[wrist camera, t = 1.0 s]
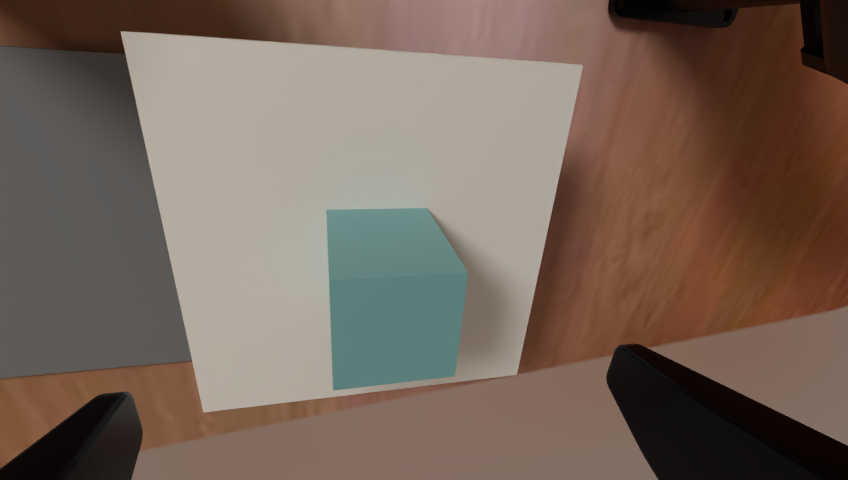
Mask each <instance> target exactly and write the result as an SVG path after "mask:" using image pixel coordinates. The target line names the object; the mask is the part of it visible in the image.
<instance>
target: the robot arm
mask: <svg viewBox="0 0 848 480" xmlns="http://www.w3.org/2000/svg"><path fill="white" fill-rule="evenodd" d="M623 1H624V5H623V7H622V9H620V7H619V2H620V0H609V4H608V9H609V13H610V14H611V15H612V16H613V17H618V18H627V19H636V20H646V21H655V22H665V23H674V24H684V25H693V26H703V27H712V28H724V27H728V26H729V25H731V23H732V22H733V21H734V19H735V17H736V14H737V12H738V9H739V8H747V7H760V6H773V5H786V4H799V3H800V9H801V19H802V29H803V39H804V47H803V48H802V49H801V58H802V64H803V65H804V66H807V67H810V68H812V69H815V70H817V71H820V72H823V73H825V74H828V75H830V76H833V77H835V78H837V79H839V80H841V81H843V82H844V83H846V84H848V0H623ZM723 13H725V14H724V18H723V19H722V16H723ZM606 379H607V384H608V387H609V389H610V391H611V393H612V395H613V397H614V399H615V401H616V403H617V405H618V407H619V409H620V411H621V412H622V415H623V417H624V418H625V420H626V422H627V424H628V426H629V428H630V430H631V432H632V434H633V436H634V438H635V440H636V442H637V444H638V446H639V448H640V450H641V452H642V453H643V455H644V457H645V459H646V460H647V462H648V464H649V465H650V467H651V469H652V470H653V472H654V474H655V475H656V477H657V478H658V480H848V446H847V445H845V444H843V443H841V442H839V441H837V440H835V439H832V438H830V437H829V436H827V435H824V434H822V433H820V432H818V431H816V430H814V429H812V428H810V427H808V426H806V425H804V424H802V423H800V422H798V421H795V420H794V419H791V418H790V417H788V416H785V415H783V414H781V413H779V412H777V411H775V410H773V409H771V408H769V407H767V406H765V405H763V404H761V403H759V402H757V401H755V400H753V399H750V398H748V397H746V396H744V395H742V394H740V393H738V392H736V391H734V390H732V389H730V388H728V387H726V386H724V385H722V384H720V383H717V382H715V381H713V380H711V379H709V378H707V377H705V376H703V375H701V374H699V373H697V372H695V371H693V370H691V369H689V368H687V367H685V366H683V365H681V364H679V363H677V362H674V361H672V360H670V359H668V358H666V357H664V356H662V355H660V354H658V353H656V352H654V351H652V350H650V349H648V348H646V347H644V346H642V345H639V344H625V345H620V346H618V347H617V348H616V350H615V352H614V355H613V357H612V360H611V363H610V366H609V369H608V372H607V377H606ZM142 435H143V430H142V425H141V421H140V418H139V414H138V411H137V408H136V404H135V401H134V398H133V396H132V395H131V393H129V392H116V393H106V394H101V395H98V396H97V397H95V398H93V399H92V400H91V401H89V402H88V403H87V404H85V405H84V406H83V407H81V408H80V409H79V410H77V411H76V412H75V413H74V414H72V415H71V416H70V417H68V418H67V419H66V420H64V421H63V422H62V423H60V424H59V425H58V426H56V427H55V428H54V429H52V430H51V431H50V432H48V433H47V434H46V435H44V436H43V437H42V438H40V439H39V440H38V441H36V442H35V443H34V444H32V445H31V446H30V447H28V448H27V449H26V450H25V451H23V452H22V453H21V454H19V455H18V456H17V457H15V458H14V459H13V460H11V461H10V462H9V463H7V464H6V465H5V466H3V467H2V468H1V469H0V480H131V479H132V475H133V471H134V468H135V464H136V461H137V457H138V453H139V450H140V446H141V442H142Z"/></svg>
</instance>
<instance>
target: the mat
mask: <svg viewBox="0 0 848 480" xmlns="http://www.w3.org/2000/svg"><path fill="white" fill-rule="evenodd" d="M182 361H192V358H191V353H190V348H189V344H188V339H187V335H186V330H185V325H184V321H183V316H182V312H181V307H180V302H179V298H178V293H177V289H176V284H175V279H174V275H173V270H172V266H171V261H170V257H169V252H168V247H167V243H166V238H165V234H164V229H163V224H162V220H161V215H160V211H159V206H158V201H157V197H156V192H155V188H154V183H153V178H152V174H151V169H150V165H149V160H148V155H147V151H146V146H145V142H144V137H143V132H142V128H141V123H140V119H139V114H138V109H137V105H136V100H135V96H134V91H133V87H132V82H131V77H130V73H129V68H128V64H127V59H126V54H123V53H106V52H90V51H74V50H58V49H42V48H26V47H10V46H0V378H10V377H20V376H31V375H42V374H53V373H64V372H74V371H85V370H96V369H107V368H117V367H128V366H139V365H150V364H161V363H171V362H182Z"/></svg>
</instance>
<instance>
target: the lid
mask: <svg viewBox="0 0 848 480" xmlns="http://www.w3.org/2000/svg"><path fill="white" fill-rule="evenodd" d="M121 36H122V41H123V45H124V50H125V54H126V59H127V64H128V68H129V73H130V77H131V82H132V87H133V91H134V96H135V100H136V105H137V109H138V114H139V119H140V123H141V128H142V132H143V137H144V142H145V146H146V151H147V155H148V160H149V165H150V169H151V174H152V178H153V183H154V188H155V192H156V197H157V201H158V206H159V211H160V215H161V220H162V224H163V229H164V234H165V238H166V243H167V247H168V252H169V257H170V261H171V266H172V270H173V275H174V279H175V284H176V289H177V293H178V298H179V302H180V307H181V312H182V316H183V321H184V325H185V330H186V335H187V339H188V344H189V348H190V353H191V358H192V362H193V367H194V371H195V376H196V381H197V385H198V390H199V394H200V399H201V404H202V408H203V412H211V411H219V410H228V409H236V408H244V407H253V406H261V405H269V404H278V403H286V402H294V401H303V400H311V399H319V398H328V397H336V396H344V395H353V394H361V393H369V392H378V391H386V390H394V389H403V388H411V387H419V386H428V385H436V384H444V383H453V382H461V381H469V380H478V379H486V378H494V377H503V376H511V375H517V372H518V367H519V362H520V358H521V353H522V348H523V344H524V339H525V334H526V330H527V325H528V320H529V316H530V311H531V306H532V302H533V297H534V292H535V288H536V283H537V278H538V274H539V269H540V264H541V260H542V255H543V250H544V246H545V241H546V236H547V232H548V227H549V222H550V218H551V213H552V208H553V204H554V199H555V194H556V190H557V185H558V180H559V176H560V171H561V166H562V162H563V157H564V152H565V148H566V143H567V138H568V134H569V129H570V124H571V120H572V115H573V110H574V106H575V101H576V96H577V92H578V87H579V82H580V78H581V73H582V68H583V65H577V64H566V63H555V62H544V61H530V60H517V59H503V58H490V57H476V56H463V55H449V54H435V53H422V52H408V51H395V50H381V49H367V48H354V47H340V46H327V45H313V44H299V43H286V42H272V41H259V40H245V39H232V38H218V37H204V36H191V35H177V34H164V33H147V32H126V31H121Z"/></svg>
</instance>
